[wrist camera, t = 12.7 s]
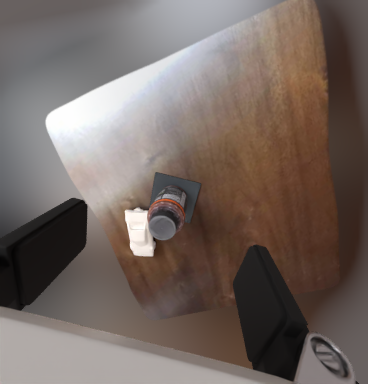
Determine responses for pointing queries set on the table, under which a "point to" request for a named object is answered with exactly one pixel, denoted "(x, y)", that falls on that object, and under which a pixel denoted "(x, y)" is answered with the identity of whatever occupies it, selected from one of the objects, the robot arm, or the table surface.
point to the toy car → (139, 232)
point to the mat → (186, 185)
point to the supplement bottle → (167, 213)
